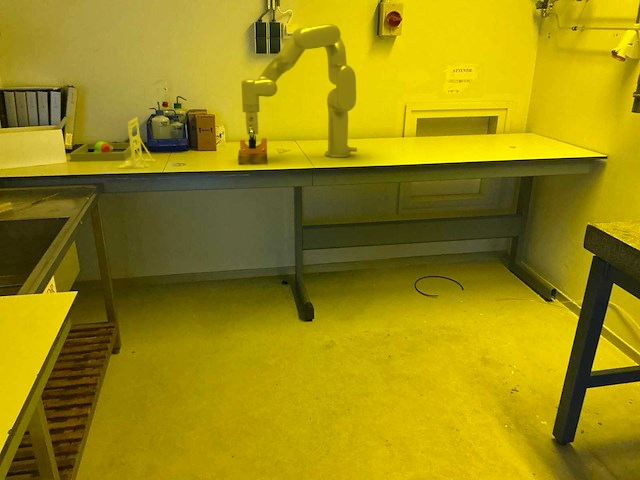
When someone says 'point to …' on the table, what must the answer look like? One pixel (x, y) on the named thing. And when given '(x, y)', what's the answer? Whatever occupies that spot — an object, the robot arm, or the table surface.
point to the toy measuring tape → (103, 148)
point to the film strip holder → (135, 147)
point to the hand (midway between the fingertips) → (252, 146)
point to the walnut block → (252, 158)
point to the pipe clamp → (253, 151)
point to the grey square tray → (83, 156)
